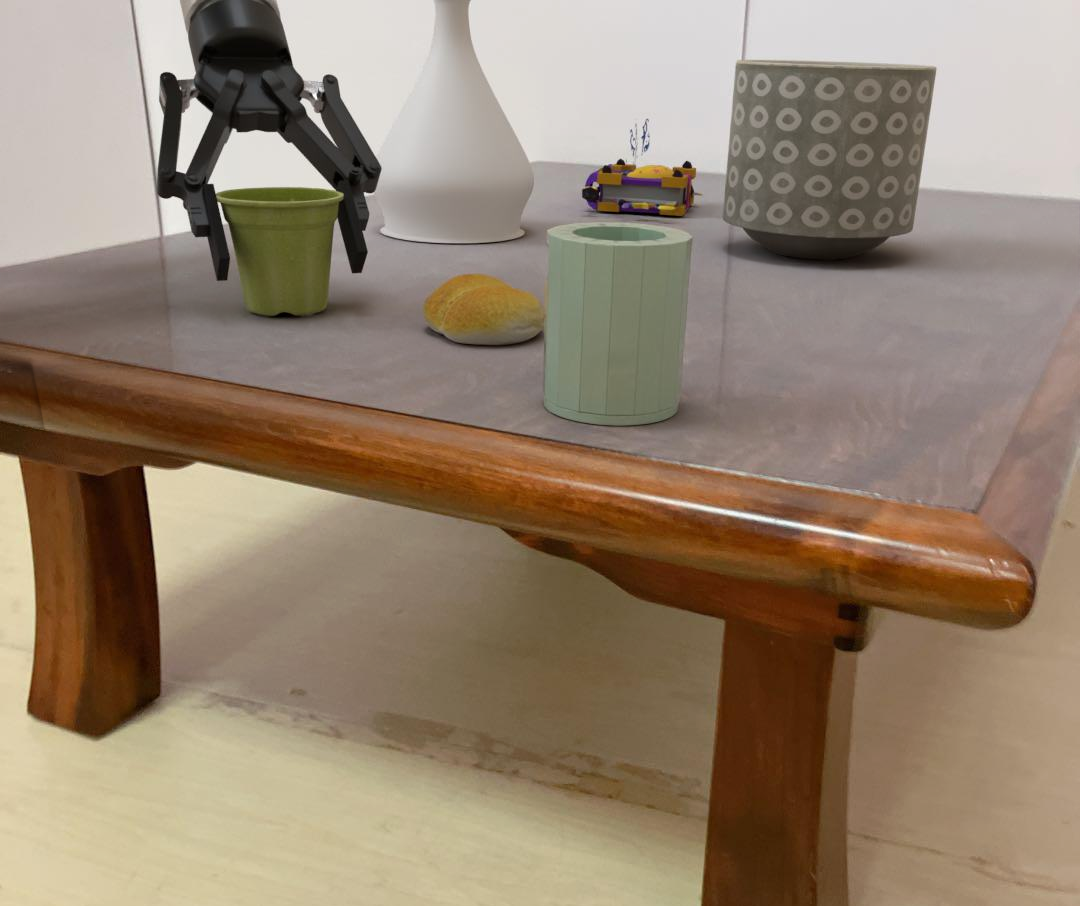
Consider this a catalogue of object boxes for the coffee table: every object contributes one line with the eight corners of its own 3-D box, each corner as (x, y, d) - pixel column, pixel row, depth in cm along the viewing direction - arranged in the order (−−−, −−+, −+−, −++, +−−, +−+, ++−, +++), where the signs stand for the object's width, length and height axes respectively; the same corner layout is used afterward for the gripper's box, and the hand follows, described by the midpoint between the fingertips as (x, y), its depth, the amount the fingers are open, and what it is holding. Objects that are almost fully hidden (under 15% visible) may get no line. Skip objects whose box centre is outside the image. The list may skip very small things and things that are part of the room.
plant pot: (197, 310, 90) (187, 193, 86) (288, 291, 97) (281, 182, 93) (284, 329, 85) (277, 205, 81) (373, 308, 92) (369, 193, 89)
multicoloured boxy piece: (564, 217, 140) (568, 108, 135) (601, 192, 162) (606, 98, 157) (687, 225, 137) (695, 113, 132) (707, 198, 159) (715, 102, 154)
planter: (757, 232, 133) (774, 59, 126) (927, 250, 125) (956, 66, 117) (691, 255, 118) (706, 60, 111) (879, 278, 109) (909, 68, 102)
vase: (400, 249, 117) (394, -30, 107) (352, 223, 131) (343, -25, 121) (559, 241, 124) (567, -22, 114) (496, 217, 138) (499, -18, 128)
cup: (548, 425, 66) (554, 243, 62) (538, 386, 73) (542, 221, 69) (690, 426, 66) (704, 246, 62) (665, 386, 74) (677, 223, 70)
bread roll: (467, 353, 80) (467, 294, 78) (409, 325, 87) (408, 271, 85) (568, 339, 84) (570, 283, 82) (505, 314, 91) (506, 262, 89)
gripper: (361, 66, 101) (424, 286, 94) (89, 62, 93) (136, 304, 86) (377, -3, 95) (446, 229, 88) (86, -14, 86) (137, 241, 79)
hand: (293, 266), depth 87 cm, fingers closed on plant pot, 9 cm apart
